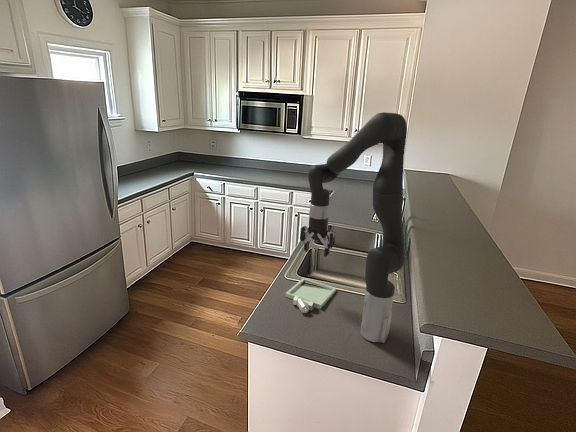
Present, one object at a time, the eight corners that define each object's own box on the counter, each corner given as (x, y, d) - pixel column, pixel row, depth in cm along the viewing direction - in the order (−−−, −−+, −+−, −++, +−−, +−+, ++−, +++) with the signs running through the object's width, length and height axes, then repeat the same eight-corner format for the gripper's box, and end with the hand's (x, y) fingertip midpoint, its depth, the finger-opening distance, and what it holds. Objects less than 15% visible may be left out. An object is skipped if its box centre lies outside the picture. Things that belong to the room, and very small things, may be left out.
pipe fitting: (307, 317, 127) (314, 308, 133) (308, 308, 126) (315, 300, 132) (288, 310, 131) (295, 302, 136) (289, 301, 129) (296, 293, 135)
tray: (336, 292, 145) (336, 288, 145) (320, 309, 132) (320, 305, 131) (303, 281, 153) (303, 277, 152) (285, 297, 139) (285, 293, 139)
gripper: (339, 216, 132) (336, 254, 136) (306, 210, 138) (304, 246, 143) (332, 221, 125) (328, 261, 130) (298, 214, 132) (296, 252, 137)
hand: (316, 253), depth 137 cm, fingers open, 8 cm apart
